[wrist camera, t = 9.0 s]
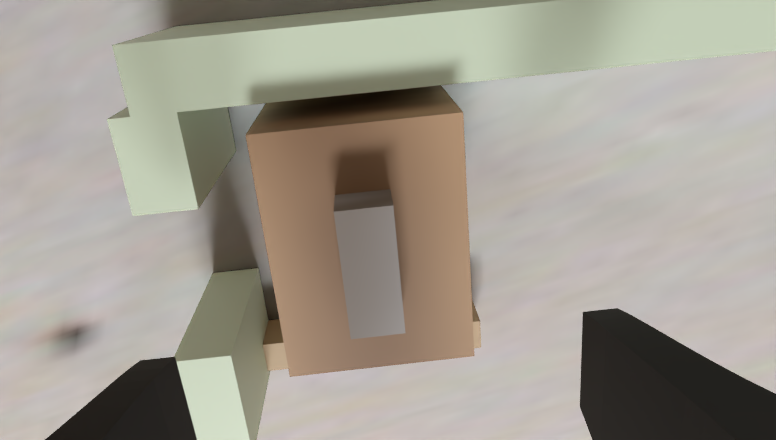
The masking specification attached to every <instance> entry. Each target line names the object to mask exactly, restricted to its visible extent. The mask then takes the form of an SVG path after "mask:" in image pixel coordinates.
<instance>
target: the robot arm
mask: <svg viewBox="0 0 776 440" xmlns="http://www.w3.org/2000/svg"><path fill="white" fill-rule="evenodd" d="M580 408H581V410H582V413H583V416H584V418H585V421H586V424H587V426H588V429H589V432H590V434H591V437H592V439H593V440H776V394H775V393H773V392H771V391H769V390H767V389H765V388H763V387H761V386H758V385H756V384H754V383H752V382H750V381H748V380H746V379H744V378H743V377H741V376H739V375H737V374H735V373H733V372H731V371H729V370H727V369H725V368H724V367H722V366H720V365H718V364H716V363H714V362H713V361H711V360H709V359H707V358H705V357H704V356H702V355H700V354H698V353H696V352H695V351H693V350H691V349H689V348H688V347H686V346H684V345H682V344H681V343H679V342H677V341H675V340H674V339H672V338H670V337H668V336H667V335H665V334H663V333H662V332H660V331H658V330H656V329H655V328H653V327H651V326H649V325H648V324H646V323H644V322H642V321H641V320H639V319H637V318H635V317H633V316H632V315H630V314H628V313H626V312H624V311H622V310H620V309H617V308H616V309H607V310H598V311H589V312H583V329H582V360H581V391H580ZM45 440H197V438H196V434H195V430H194V426H193V423H192V419H191V415H190V411H189V408H188V404H187V400H186V396H185V392H184V389H183V385H182V381H181V377H180V373H179V370H178V366H177V362H176V358H175V357H169V358H160V359H151V360H141V361H139V362H138V363H136V364H135V365H134V366H132V367H131V368H130V369H128V370H127V371H126V372H125V373H123V374H122V375H121V376H120V377H119V378H117V379H116V380H115V381H114V382H113V383H111V384H110V385H109V386H108V387H107V388H106V389H104V390H103V391H102V392H101V393H100V394H99V395H97V396H96V397H95V398H94V399H93V400H92V401H90V402H89V403H88V404H87V405H86V406H85V407H83V408H82V409H81V410H80V411H79V412H77V413H76V414H75V415H74V416H73V417H72V418H70V419H69V420H68V421H67V422H66V423H64V424H63V425H62V426H61V427H60V428H59V429H57V430H56V431H55V432H54V433H53V434H51V435H50V436H49V437H48V438H47V439H45Z"/></svg>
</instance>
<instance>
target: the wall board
mask: <svg viewBox="0 0 776 440" xmlns="http://www.w3.org/2000/svg"><path fill="white" fill-rule="evenodd" d="M112 47H113V51H114V55H115V59H116V63H117V67H118V71H119V75H120V79H121V83H122V87H123V91H124V94H125V98H126V102H127V106H128V107H127V108H125V109H124V110H122V111H120V112H119V113H117V114H115V115H113V116H112V117H110V118H108V119H107V122H108V125H109V129H110V133H111V137H112V140H113V144H114V148H115V152H116V155H117V159H118V163H119V166H120V170H121V174H122V178H123V181H124V185H125V189H126V193H127V196H128V200H129V204H130V208H131V211H132V215H133V216H139V215H148V214H157V213H167V212H176V211H186V210H195V209H199V207H200V206H201V204H202V203H203V201H204V200H205V198H206V197H207V195H208V193H209V192H210V190H211V189H212V187H213V186H214V184H215V183H216V181H217V180H218V178H219V177H220V175H221V173H222V172H223V170H224V169H225V167H226V166H227V164H228V163H229V161H230V160H231V158H232V156H233V155H234V153H235V152H236V148H235V143H234V138H233V133H232V127H231V122H230V117H229V112H228V107H233V106H242V105H252V104H262V103H272V102H281V101H291V100H301V99H311V98H320V97H330V96H340V95H350V94H359V93H369V92H379V91H389V90H398V89H408V88H418V87H428V86H438V85H447V84H457V83H467V82H477V81H486V80H496V79H506V78H516V77H525V76H535V75H545V74H555V73H564V72H574V71H584V70H594V69H603V68H613V67H623V66H633V65H642V64H652V63H662V62H672V61H681V60H691V59H701V58H711V57H720V56H730V55H740V54H750V53H759V52H769V51H776V0H435V1H425V2H415V3H405V4H395V5H385V6H375V7H365V8H355V9H345V10H335V11H325V12H315V13H305V14H295V15H285V16H275V17H265V18H255V19H245V20H235V21H225V22H215V23H205V24H195V25H185V26H176V27H172V28H169V29H165V30H162V31H159V32H155V33H152V34H149V35H145V36H142V37H138V38H135V39H132V40H128V41H125V42H121V43H118V44H115V45H112ZM472 316H473V337H474V348H480V347H481V334H480V320H479V317H478V314H477V312H476V309H475V306H474V304H473V301H472ZM174 357H175V358H176V362H177V366H178V370H179V373H180V377H181V381H182V385H183V389H184V392H185V396H186V400H187V404H188V408H189V411H190V415H191V419H192V423H193V426H194V430H195V434H196V438H197V440H256V439H257V434H258V429H259V424H260V419H261V414H262V409H263V404H264V399H265V394H266V389H267V385H268V380H269V375H270V371H272V370H281V369H288V363H287V358H286V352H285V347H284V342H283V336H282V331H281V325H280V320H279V319H276V320H268V316H267V311H266V305H265V300H264V295H263V290H262V284H261V279H260V274H259V269H258V268H255V269H246V270H236V271H227V272H218V273H213V274H212V276H211V278H210V280H209V283H208V285H207V287H206V289H205V291H204V293H203V296H202V298H201V300H200V302H199V304H198V306H197V309H196V311H195V313H194V315H193V317H192V319H191V322H190V324H189V326H188V328H187V330H186V332H185V335H184V337H183V339H182V341H181V343H180V345H179V348H178V350H177V352H176V354H175V356H174Z"/></svg>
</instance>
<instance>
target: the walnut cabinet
mask: <svg viewBox="0 0 776 440" xmlns="http://www.w3.org/2000/svg"><path fill="white" fill-rule="evenodd" d="M246 141H247V146H248V151H249V157H250V162H251V168H252V173H253V179H254V184H255V189H256V195H257V200H258V206H259V211H260V217H261V222H262V228H263V233H264V238H265V244H266V249H267V255H268V260H269V266H270V271H271V276H272V282H273V287H274V293H275V298H276V304H277V309H278V314H279V320H280V325H281V331H282V336H283V342H284V347H285V352H286V358H287V363H288V369H289V374H290V377H292V376H301V375H310V374H319V373H328V372H337V371H345V370H354V369H363V368H372V367H381V366H390V365H399V364H408V363H416V362H425V361H434V360H443V359H452V358H461V357H470V356H474V337H473V316H472V294H471V273H470V251H469V230H468V208H467V187H466V165H465V143H464V122H463V112H462V110H461V109H460V108H459V107H458V106H457V104H456V103H455V102H454V101H453V100H452V98H451V97H450V96H449V95H448V94H447V92H446V91H445V90H444V89H443V87H442V86H441V85H438V86H428V87H418V88H408V89H398V90H389V91H379V92H369V93H359V94H350V95H340V96H330V97H320V98H311V99H301V100H291V101H281V102H272V103H266V104H265V106H264V107H263V109H262V110H261V112H260V113H259V115H258V116H257V118H256V120H255V121H254V123H253V124H252V126H251V127H250V129H249V130H248V132H247V134H246Z"/></svg>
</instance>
